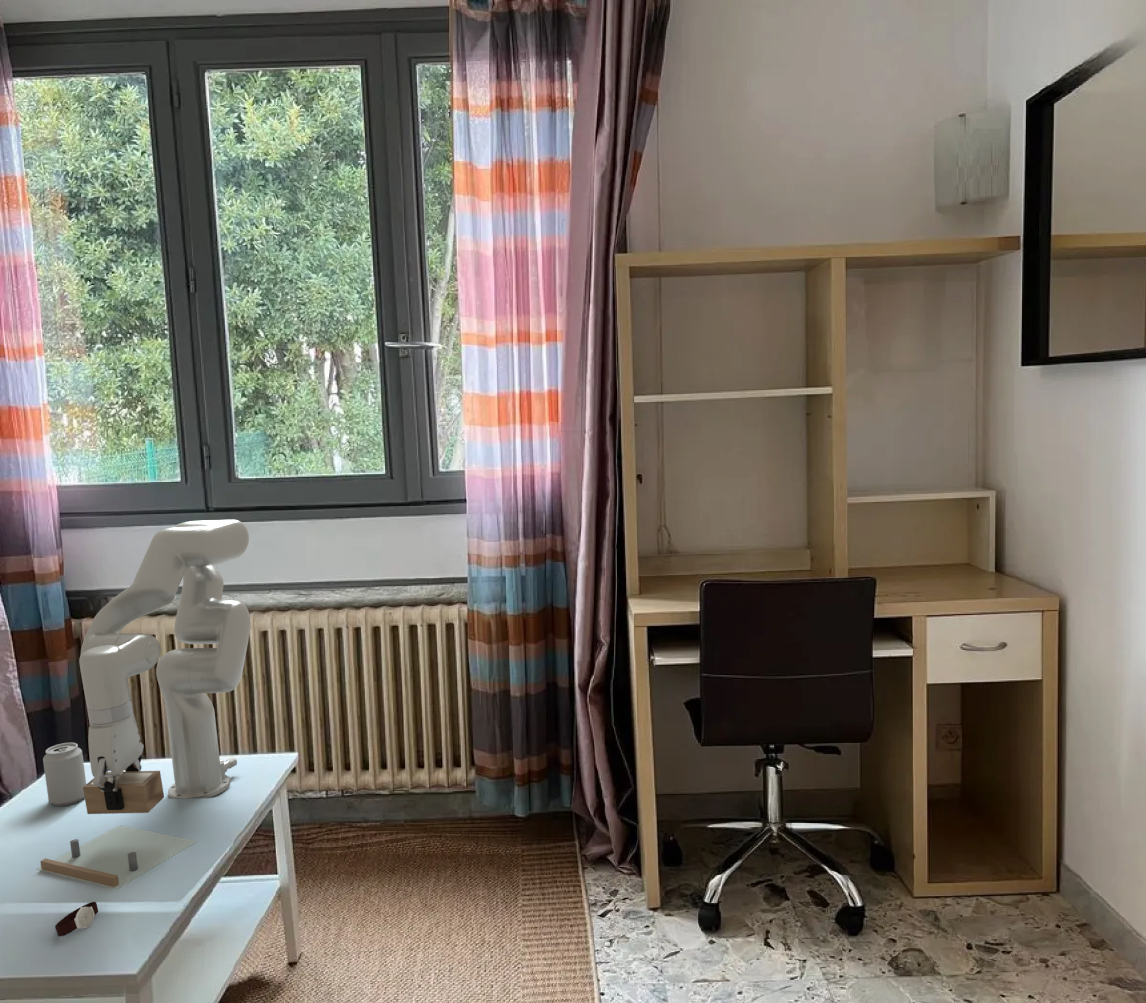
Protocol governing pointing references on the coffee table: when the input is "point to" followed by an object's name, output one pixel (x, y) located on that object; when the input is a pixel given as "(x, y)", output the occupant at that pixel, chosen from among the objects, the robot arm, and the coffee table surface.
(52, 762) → the can
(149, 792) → the wooden box
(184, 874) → the coffee table surface
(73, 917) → the watch
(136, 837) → the wall board
